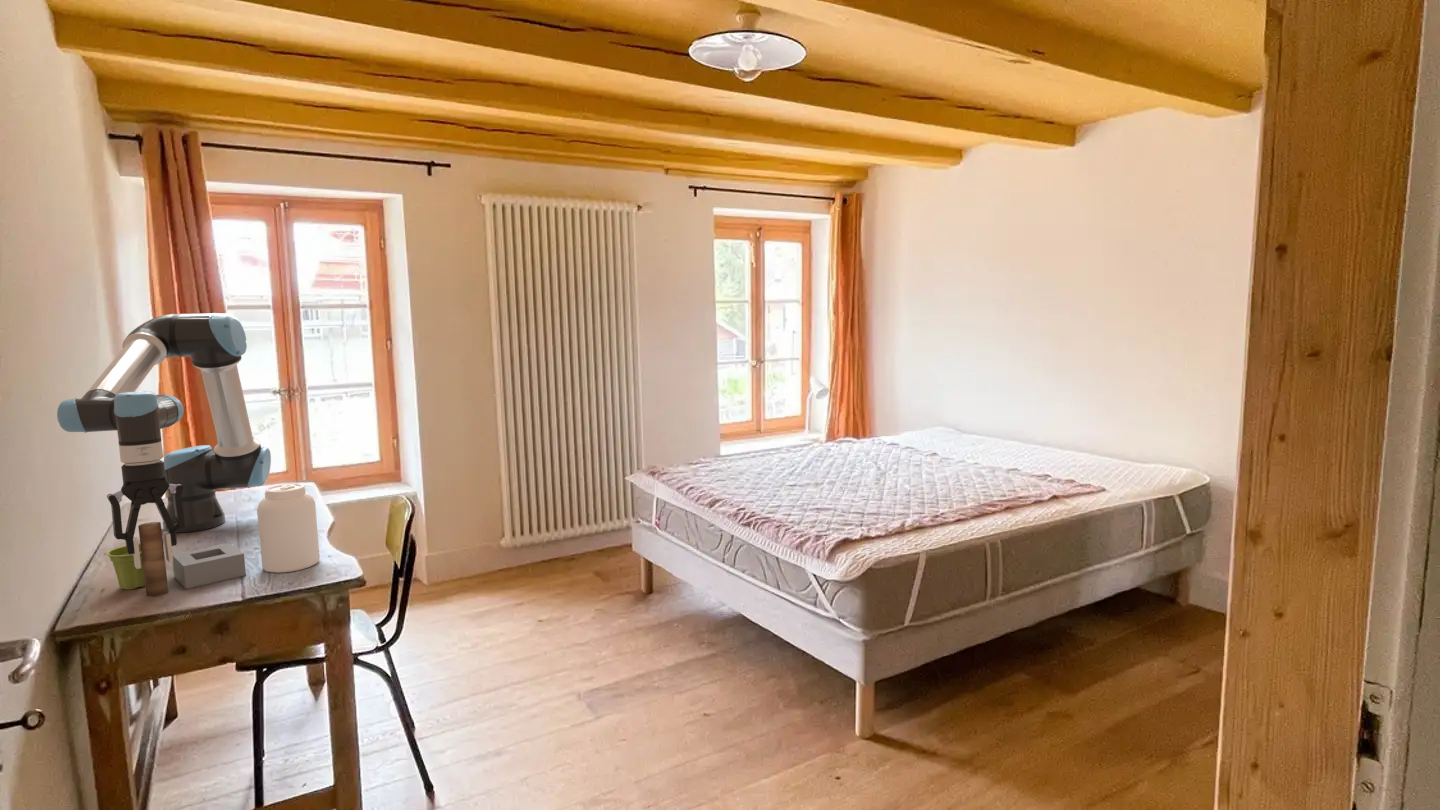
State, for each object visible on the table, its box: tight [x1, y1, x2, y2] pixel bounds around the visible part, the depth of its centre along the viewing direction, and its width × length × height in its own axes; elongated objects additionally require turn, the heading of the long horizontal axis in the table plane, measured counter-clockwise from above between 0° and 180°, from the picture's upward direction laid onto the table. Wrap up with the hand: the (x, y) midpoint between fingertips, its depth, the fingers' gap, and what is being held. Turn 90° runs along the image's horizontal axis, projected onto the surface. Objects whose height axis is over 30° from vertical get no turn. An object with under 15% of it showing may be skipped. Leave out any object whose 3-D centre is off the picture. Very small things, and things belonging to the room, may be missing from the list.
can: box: [256, 483, 321, 574], centre depth 186 cm, size 12×12×20 cm
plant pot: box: [106, 543, 145, 590], centre depth 175 cm, size 9×9×9 cm
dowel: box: [137, 521, 169, 598], centre depth 169 cm, size 4×4×16 cm
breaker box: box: [172, 542, 247, 590], centre depth 180 cm, size 12×12×6 cm
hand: (154, 563), depth 169 cm, fingers open, 5 cm apart
